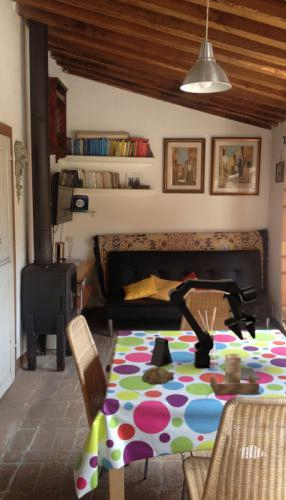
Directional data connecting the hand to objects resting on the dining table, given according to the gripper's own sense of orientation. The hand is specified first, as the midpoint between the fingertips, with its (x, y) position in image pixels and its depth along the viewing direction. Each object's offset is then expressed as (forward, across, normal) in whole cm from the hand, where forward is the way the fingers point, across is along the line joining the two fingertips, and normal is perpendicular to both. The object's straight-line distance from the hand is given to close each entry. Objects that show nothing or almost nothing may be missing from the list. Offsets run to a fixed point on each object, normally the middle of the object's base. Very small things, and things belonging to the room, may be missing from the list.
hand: (248, 339), depth 192 cm
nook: (+19, -17, +3) cm, 25 cm away
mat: (+13, -1, +8) cm, 15 cm away
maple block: (+17, -15, +5) cm, 24 cm away
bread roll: (+6, -32, +29) cm, 44 cm away
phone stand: (-2, -18, +38) cm, 42 cm away
